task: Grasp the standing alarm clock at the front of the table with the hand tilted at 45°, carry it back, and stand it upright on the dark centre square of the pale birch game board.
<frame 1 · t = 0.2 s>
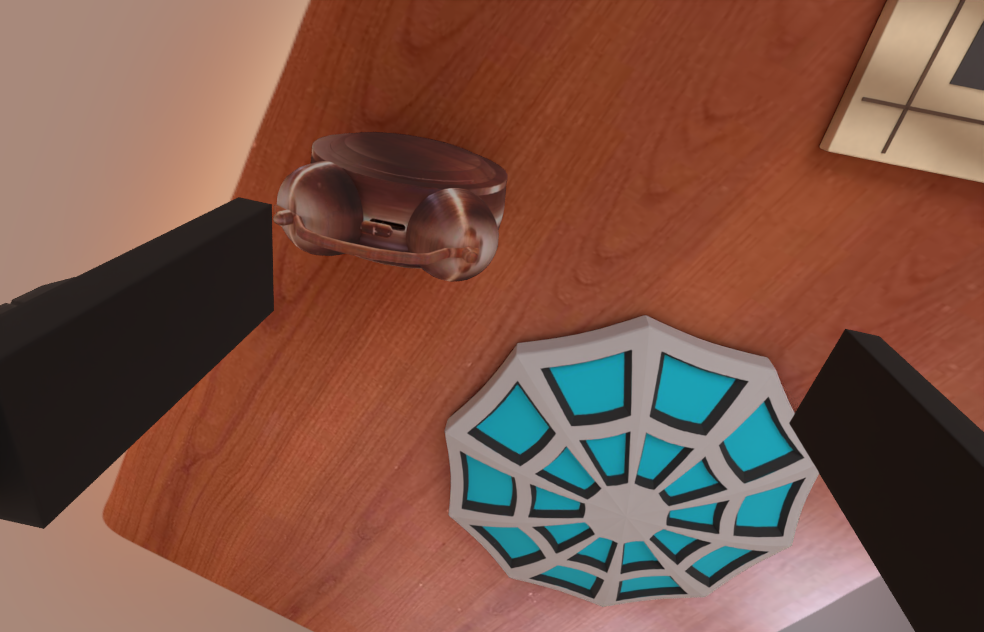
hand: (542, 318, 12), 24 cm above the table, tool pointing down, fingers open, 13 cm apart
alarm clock: (433, 170, 35), on the table
decorative platform: (618, 468, 45), on the table
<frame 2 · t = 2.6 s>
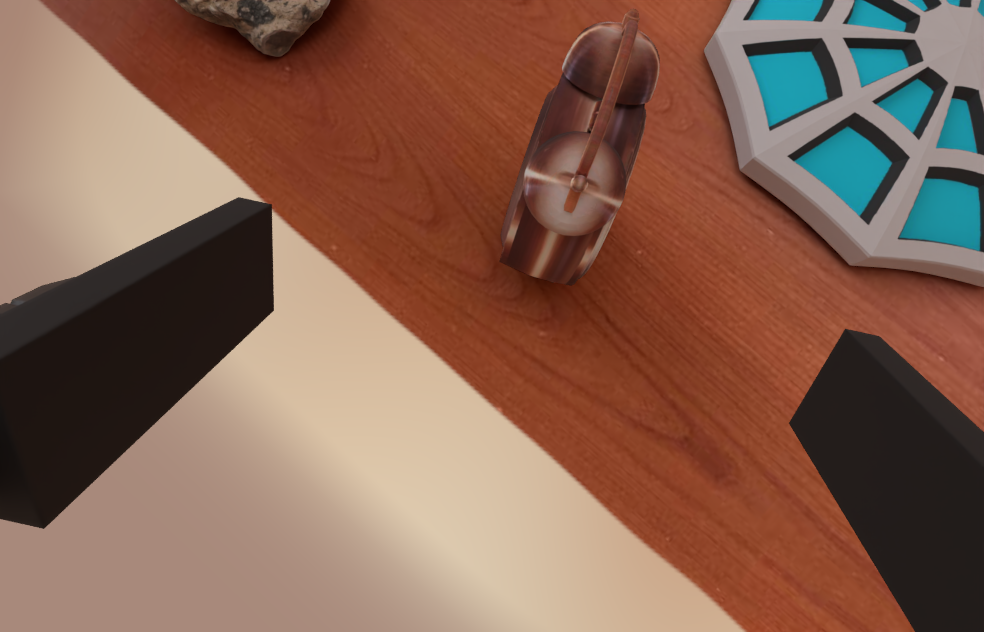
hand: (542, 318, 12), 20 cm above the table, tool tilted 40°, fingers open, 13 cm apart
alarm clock: (546, 226, 34), on the table
decorative platform: (899, 94, 39), on the table
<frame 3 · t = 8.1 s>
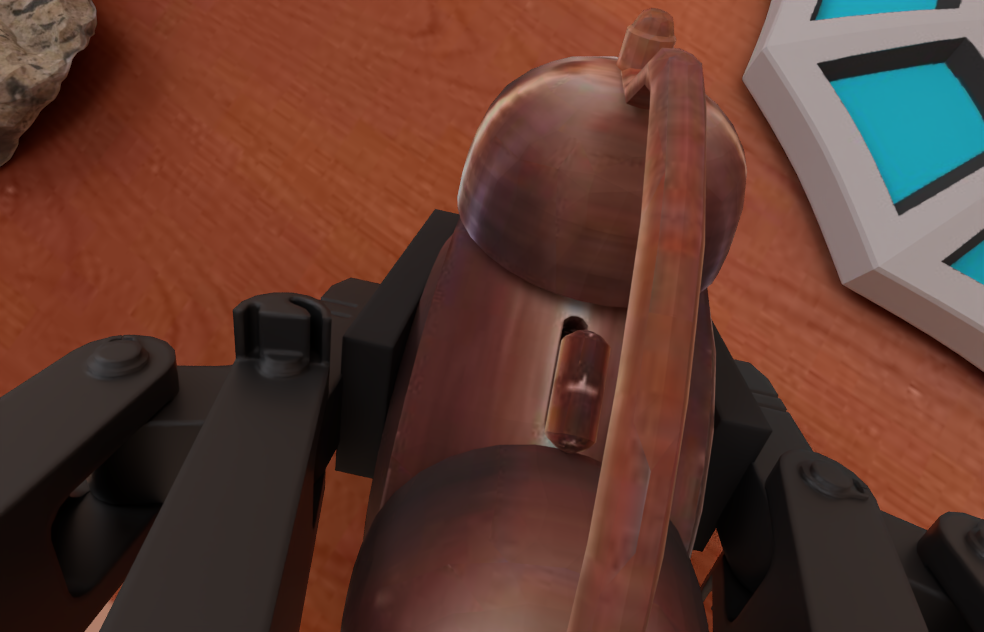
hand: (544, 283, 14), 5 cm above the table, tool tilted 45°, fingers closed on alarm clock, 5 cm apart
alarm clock: (501, 435, 18), on the table, touching gripper
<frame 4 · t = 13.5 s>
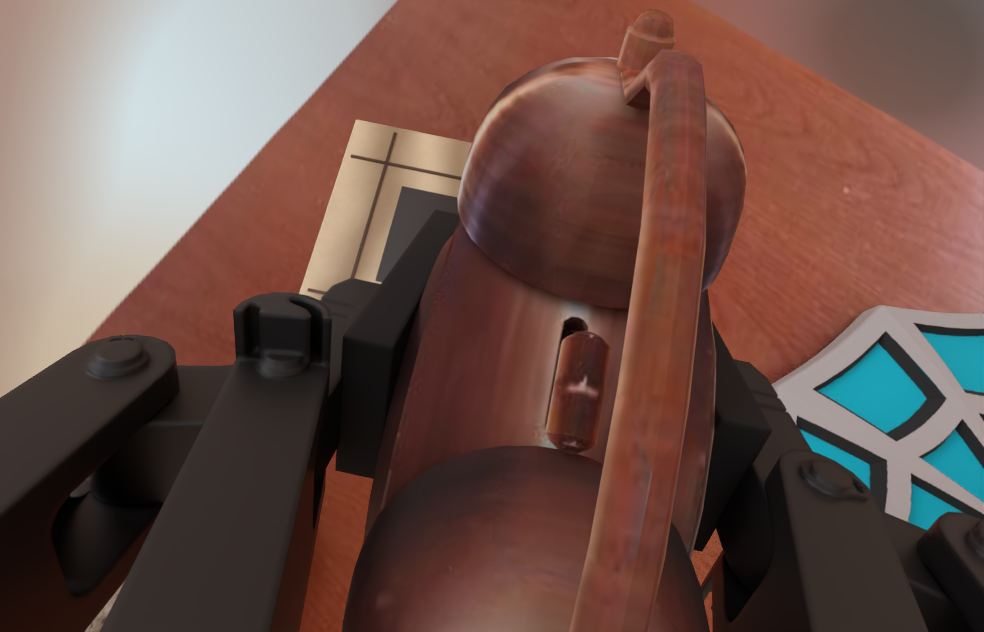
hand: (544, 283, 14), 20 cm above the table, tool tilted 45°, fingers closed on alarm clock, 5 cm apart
rock: (190, 545, 30), on the table
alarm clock: (501, 436, 18), point 15 cm above the table, touching gripper
game board: (441, 250, 36), on the table
decorative platform: (968, 545, 32), on the table
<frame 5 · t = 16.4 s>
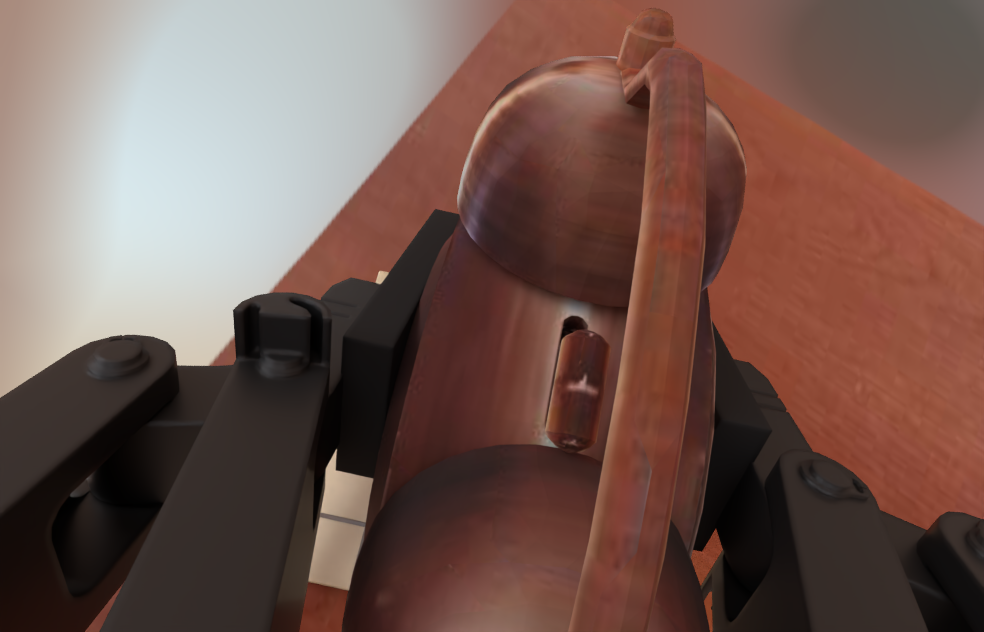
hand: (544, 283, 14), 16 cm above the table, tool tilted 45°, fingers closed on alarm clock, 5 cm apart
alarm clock: (501, 435, 18), point 10 cm above the table, touching gripper
game board: (487, 445, 28), on the table
when the fingers open (7 cm above the table, at t = 19.2 s): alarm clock stays where it is, resting on game board.
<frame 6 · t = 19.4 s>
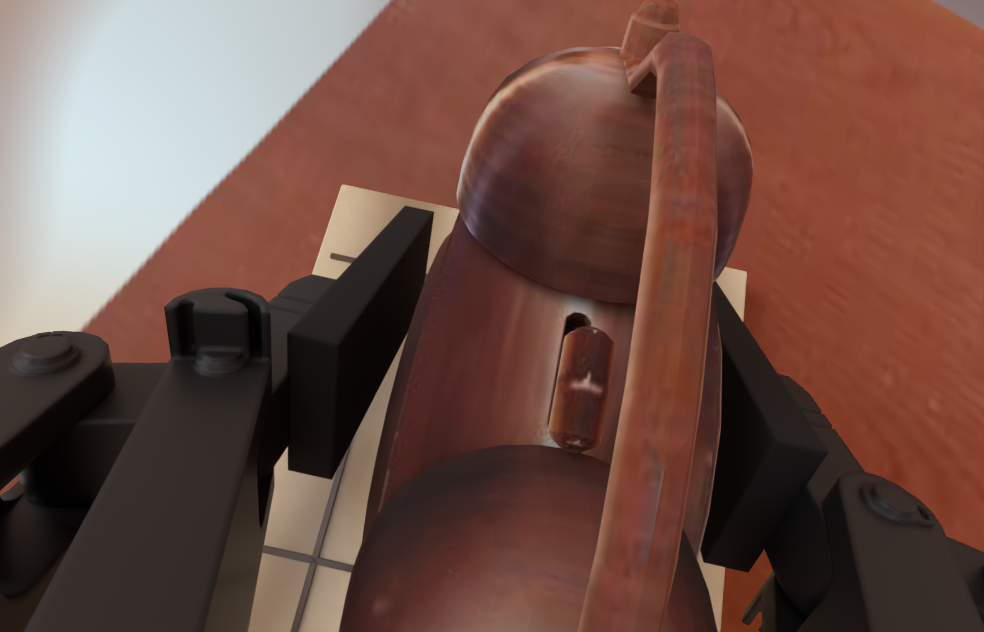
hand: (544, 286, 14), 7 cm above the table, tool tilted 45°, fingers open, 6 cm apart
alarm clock: (502, 436, 18), point 1 cm above the table, touching game board
game board: (499, 437, 19), on the table
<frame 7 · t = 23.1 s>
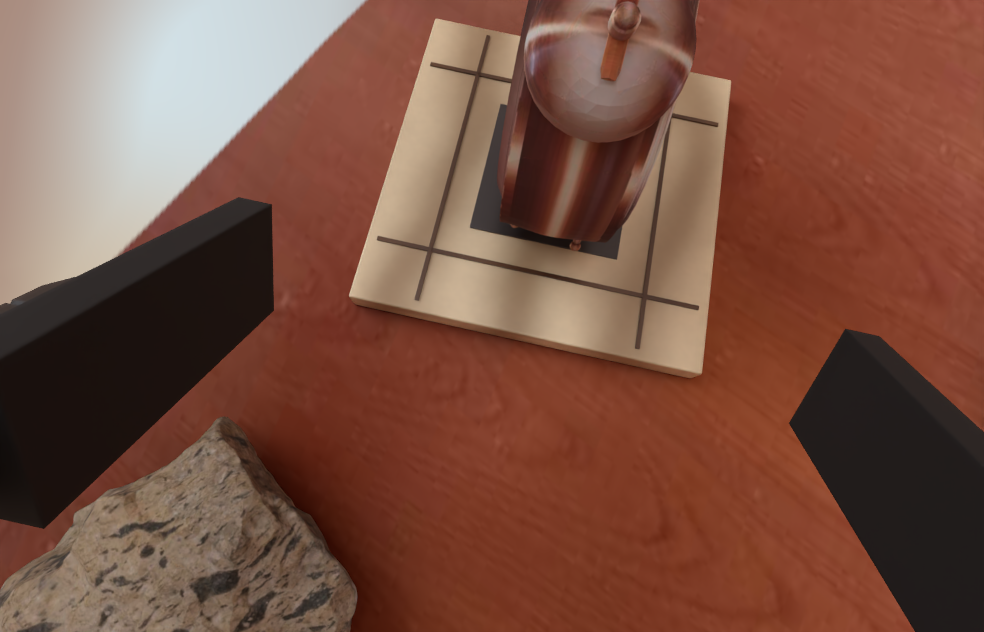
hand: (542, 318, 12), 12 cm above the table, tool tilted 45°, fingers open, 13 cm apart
rock: (212, 597, 21), on the table
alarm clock: (556, 180, 25), point 1 cm above the table, touching game board
game board: (552, 191, 26), on the table
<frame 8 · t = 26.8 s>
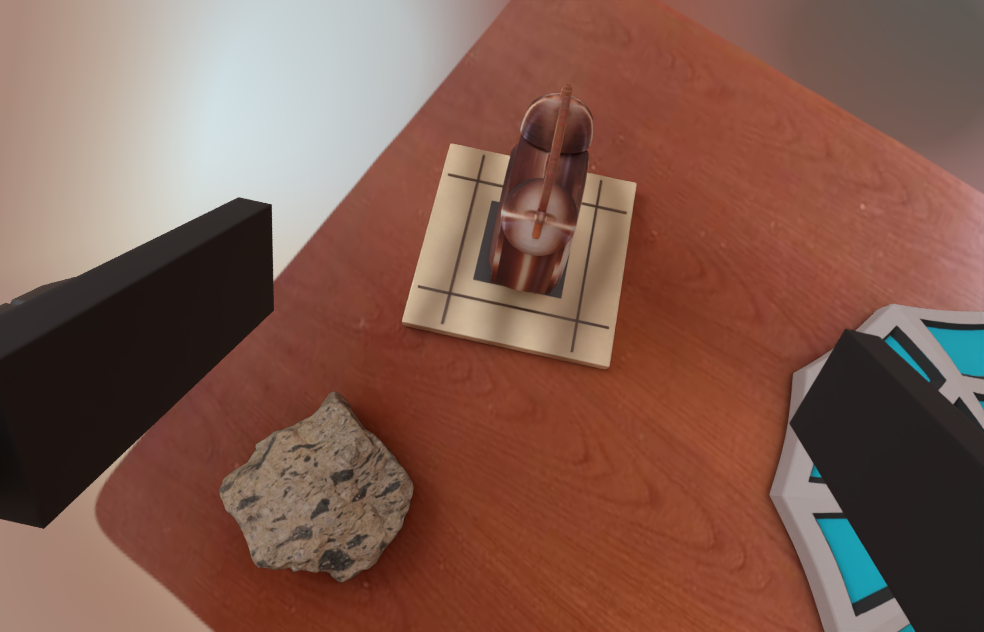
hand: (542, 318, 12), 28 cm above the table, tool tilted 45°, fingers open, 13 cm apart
rock: (329, 493, 37), on the table
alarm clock: (525, 249, 41), point 1 cm above the table, touching game board
game board: (523, 254, 43), on the table
decorative platform: (963, 502, 39), on the table
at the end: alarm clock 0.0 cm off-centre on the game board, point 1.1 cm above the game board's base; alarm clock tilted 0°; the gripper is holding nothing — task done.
